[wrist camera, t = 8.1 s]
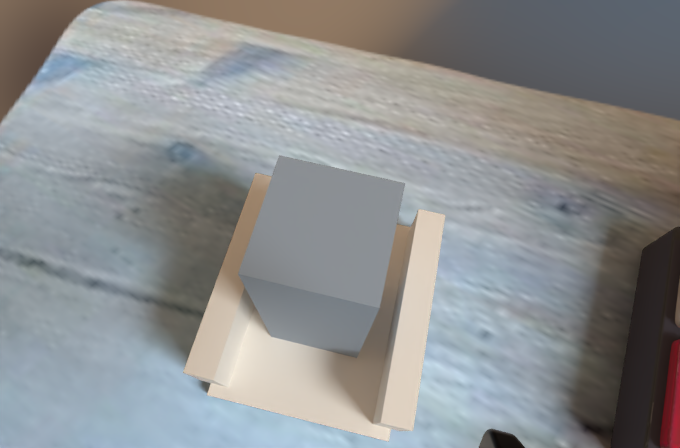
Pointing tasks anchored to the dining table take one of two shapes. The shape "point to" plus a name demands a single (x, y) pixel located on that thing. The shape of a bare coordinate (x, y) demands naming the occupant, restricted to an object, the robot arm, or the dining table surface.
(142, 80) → the dining table surface
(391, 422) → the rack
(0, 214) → the dining table surface
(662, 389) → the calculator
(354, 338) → the grey rectangular prism
